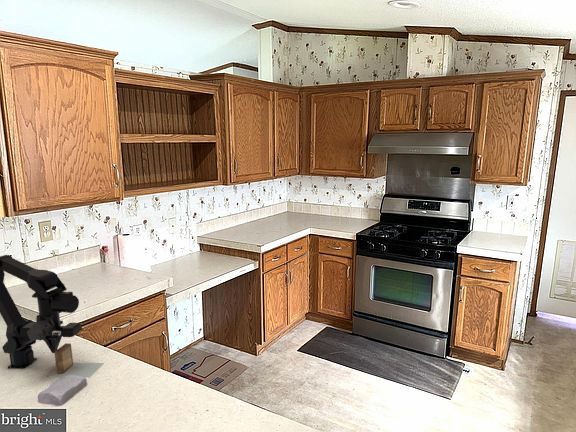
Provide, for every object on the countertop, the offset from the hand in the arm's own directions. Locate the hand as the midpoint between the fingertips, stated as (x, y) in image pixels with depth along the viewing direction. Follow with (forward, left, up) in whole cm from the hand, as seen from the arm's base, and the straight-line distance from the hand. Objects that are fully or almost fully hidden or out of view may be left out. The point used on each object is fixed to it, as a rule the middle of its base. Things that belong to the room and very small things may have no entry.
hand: (54, 352), depth 139 cm
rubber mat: (+7, 0, -6) cm, 10 cm away
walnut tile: (+3, 0, -6) cm, 7 cm away
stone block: (+11, -13, -7) cm, 18 cm away
